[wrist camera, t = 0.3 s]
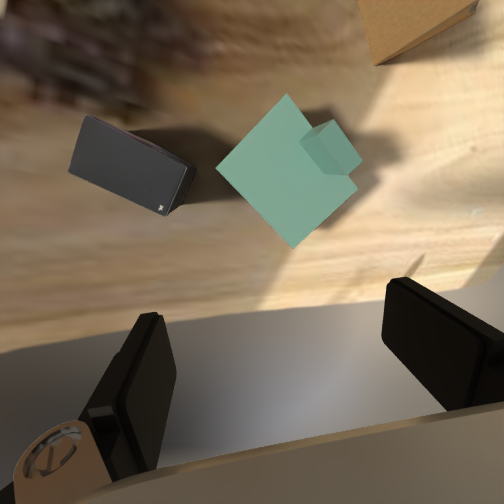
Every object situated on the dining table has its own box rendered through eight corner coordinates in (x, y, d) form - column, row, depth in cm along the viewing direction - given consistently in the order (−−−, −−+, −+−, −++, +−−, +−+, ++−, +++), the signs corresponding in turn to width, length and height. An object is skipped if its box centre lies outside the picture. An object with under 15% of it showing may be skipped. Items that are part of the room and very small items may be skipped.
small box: (199, 166, 35) (190, 165, 25) (181, 206, 37) (167, 220, 27) (125, 127, 32) (83, 109, 23) (110, 172, 34) (64, 174, 24)
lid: (282, 97, 28) (304, 72, 21) (351, 187, 33) (388, 193, 25) (215, 168, 30) (213, 168, 22) (289, 244, 34) (307, 265, 27)
